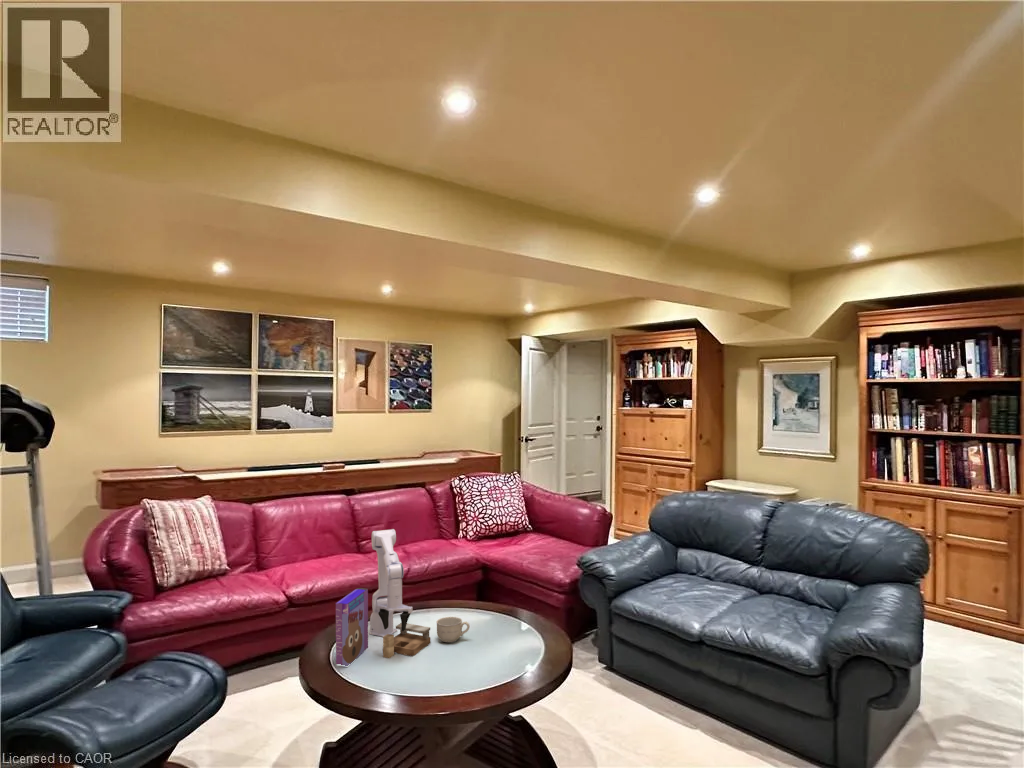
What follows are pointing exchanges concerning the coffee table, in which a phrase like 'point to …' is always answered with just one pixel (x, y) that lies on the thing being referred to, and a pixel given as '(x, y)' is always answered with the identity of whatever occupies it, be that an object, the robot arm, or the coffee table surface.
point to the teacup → (450, 628)
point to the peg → (388, 646)
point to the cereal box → (351, 626)
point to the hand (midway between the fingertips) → (394, 629)
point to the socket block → (411, 639)
